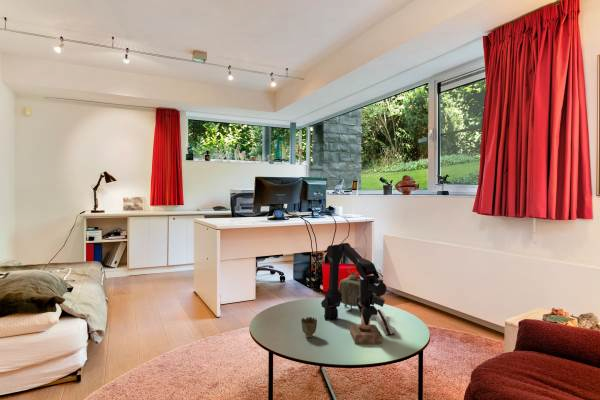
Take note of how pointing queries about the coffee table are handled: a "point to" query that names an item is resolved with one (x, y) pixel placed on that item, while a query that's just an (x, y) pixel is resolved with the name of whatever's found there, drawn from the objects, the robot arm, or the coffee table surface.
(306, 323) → the cup
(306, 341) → the coffee table surface
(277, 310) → the coffee table surface
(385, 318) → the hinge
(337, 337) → the coffee table surface
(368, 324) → the peg
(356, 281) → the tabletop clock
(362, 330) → the hole block
